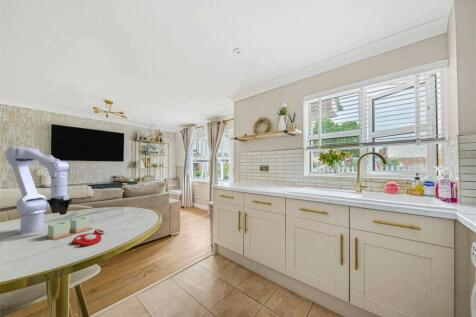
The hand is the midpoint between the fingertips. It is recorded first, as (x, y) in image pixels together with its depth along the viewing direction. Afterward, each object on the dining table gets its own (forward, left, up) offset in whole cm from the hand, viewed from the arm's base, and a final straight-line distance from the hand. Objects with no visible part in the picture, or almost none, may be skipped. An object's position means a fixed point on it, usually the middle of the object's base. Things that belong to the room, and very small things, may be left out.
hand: (59, 213), depth 89 cm
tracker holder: (+27, +1, -10) cm, 28 cm away
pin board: (+8, +1, -9) cm, 12 cm away
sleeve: (+8, -3, -8) cm, 12 cm away
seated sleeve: (+8, +5, -8) cm, 13 cm away
